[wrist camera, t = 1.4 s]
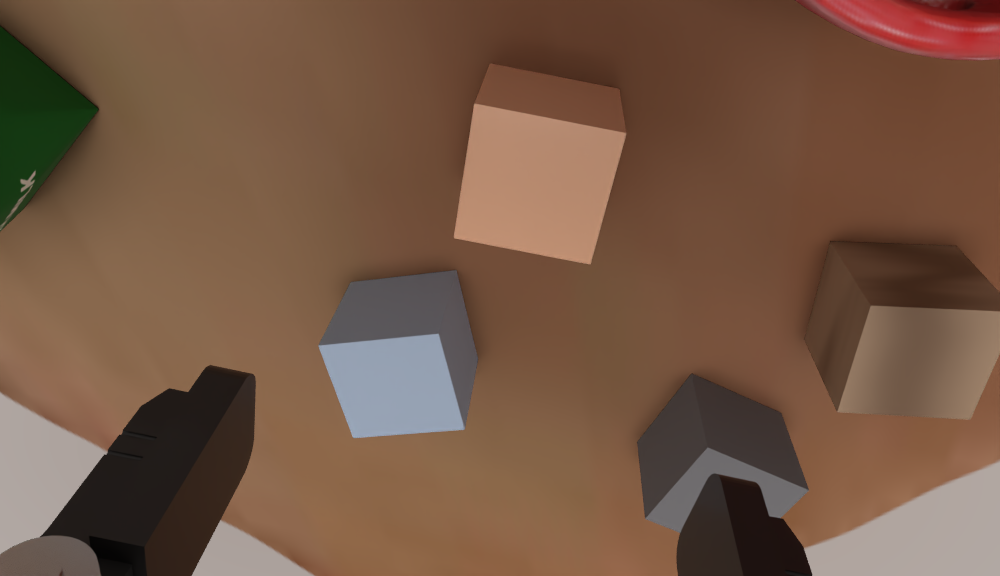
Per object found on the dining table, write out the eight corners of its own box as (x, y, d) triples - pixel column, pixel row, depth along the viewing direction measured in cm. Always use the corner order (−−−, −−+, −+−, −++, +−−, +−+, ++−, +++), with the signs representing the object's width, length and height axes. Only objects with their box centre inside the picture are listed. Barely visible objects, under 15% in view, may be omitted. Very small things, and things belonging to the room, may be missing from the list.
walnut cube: (955, 244, 30) (1018, 312, 26) (919, 343, 32) (970, 419, 28) (829, 240, 30) (870, 305, 26) (803, 338, 33) (837, 412, 29)
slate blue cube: (456, 269, 33) (438, 333, 28) (478, 358, 35) (464, 429, 31) (351, 281, 33) (318, 345, 29) (379, 367, 36) (353, 437, 32)
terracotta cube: (619, 88, 28) (626, 133, 23) (588, 205, 30) (590, 264, 26) (490, 62, 28) (474, 103, 23) (471, 182, 30) (453, 238, 26)
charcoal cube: (780, 411, 35) (808, 490, 31) (721, 476, 38) (740, 556, 33) (691, 372, 34) (707, 447, 30) (637, 440, 37) (645, 518, 33)
